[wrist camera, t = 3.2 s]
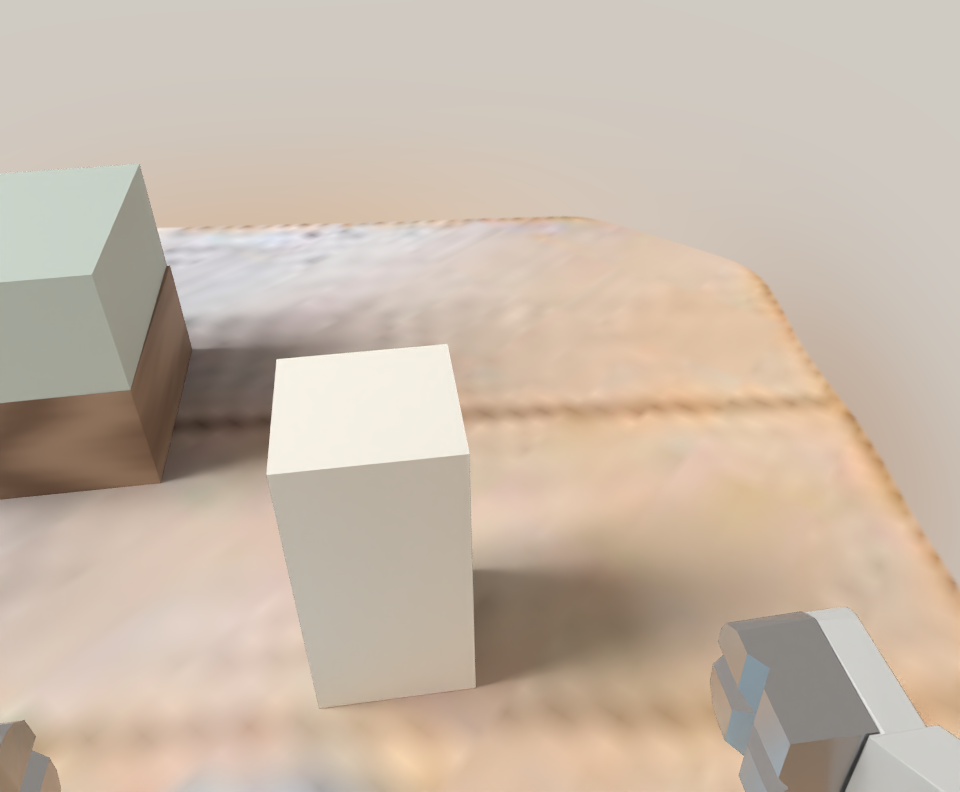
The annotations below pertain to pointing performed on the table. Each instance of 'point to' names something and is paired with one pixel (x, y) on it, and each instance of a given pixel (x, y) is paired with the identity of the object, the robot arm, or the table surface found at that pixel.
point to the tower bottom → (101, 421)
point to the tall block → (376, 521)
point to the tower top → (75, 280)
